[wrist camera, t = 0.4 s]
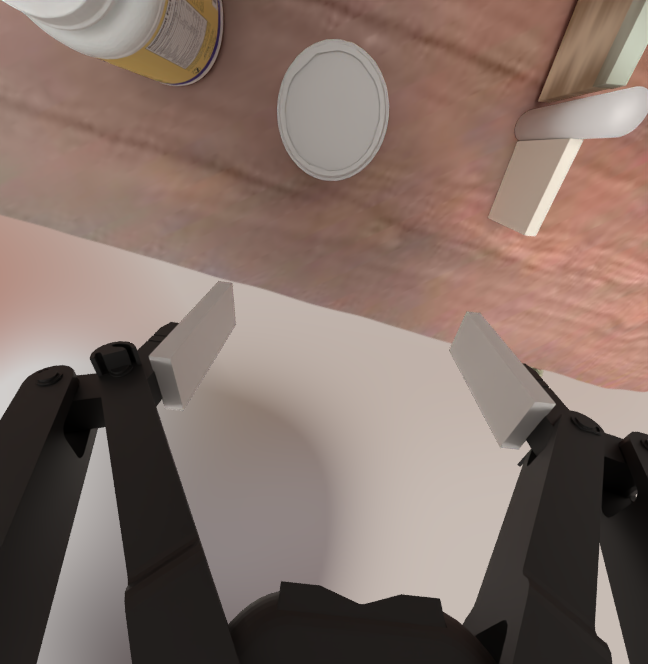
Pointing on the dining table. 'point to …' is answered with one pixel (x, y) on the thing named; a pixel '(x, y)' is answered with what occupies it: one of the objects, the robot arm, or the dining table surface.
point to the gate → (598, 48)
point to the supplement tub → (136, 33)
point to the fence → (558, 151)
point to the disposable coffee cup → (333, 109)
